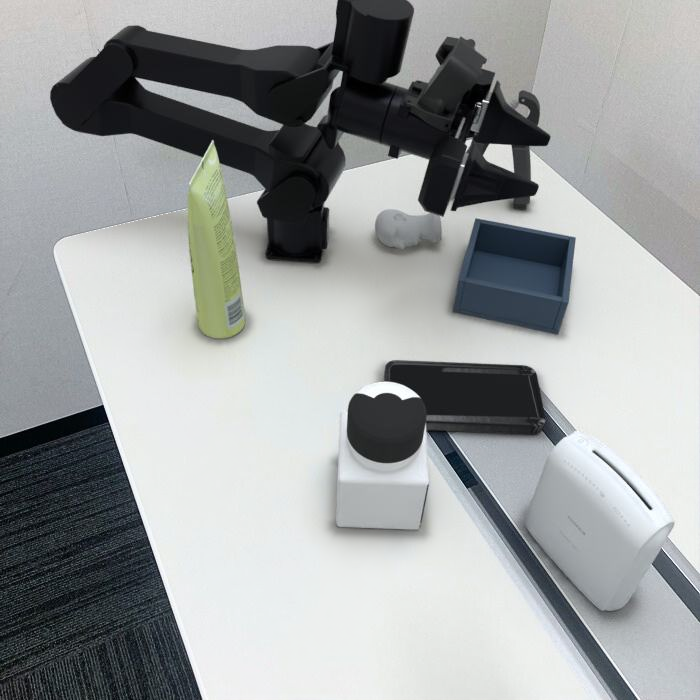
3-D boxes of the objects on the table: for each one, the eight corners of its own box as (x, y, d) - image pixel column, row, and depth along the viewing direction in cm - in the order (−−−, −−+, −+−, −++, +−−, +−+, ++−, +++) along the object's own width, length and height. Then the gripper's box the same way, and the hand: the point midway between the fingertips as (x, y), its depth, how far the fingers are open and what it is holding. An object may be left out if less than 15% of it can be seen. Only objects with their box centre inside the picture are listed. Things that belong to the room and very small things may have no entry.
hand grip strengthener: (431, 188, 98) (445, 79, 87) (528, 201, 97) (555, 92, 86) (429, 198, 97) (443, 88, 86) (527, 212, 95) (555, 101, 85)
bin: (452, 312, 82) (458, 279, 79) (469, 249, 90) (475, 217, 86) (558, 334, 80) (568, 302, 77) (566, 268, 88) (576, 237, 85)
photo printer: (514, 522, 64) (546, 432, 55) (551, 500, 66) (589, 410, 57) (601, 623, 58) (653, 541, 49) (640, 596, 60) (697, 512, 51)
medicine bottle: (420, 531, 63) (437, 445, 54) (335, 528, 63) (339, 441, 54) (417, 461, 68) (432, 372, 59) (338, 458, 68) (342, 368, 59)
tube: (187, 314, 80) (160, 153, 66) (230, 298, 82) (213, 138, 68) (211, 347, 77) (188, 184, 63) (255, 329, 79) (242, 167, 65)
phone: (547, 427, 70) (385, 420, 70) (544, 434, 71) (384, 428, 70) (534, 364, 75) (384, 358, 75) (532, 372, 76) (384, 366, 76)
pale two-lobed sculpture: (371, 255, 90) (378, 220, 92) (438, 263, 89) (443, 228, 91) (370, 234, 86) (377, 198, 88) (440, 242, 85) (445, 206, 88)
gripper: (380, 82, 62) (564, 140, 60) (431, -2, 74) (584, 45, 73) (357, 192, 70) (519, 245, 69) (406, 100, 82) (544, 143, 81)
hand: (543, 164), depth 73 cm, fingers open, 9 cm apart
